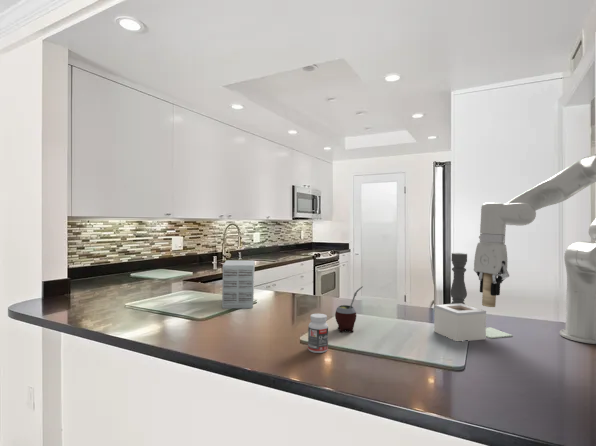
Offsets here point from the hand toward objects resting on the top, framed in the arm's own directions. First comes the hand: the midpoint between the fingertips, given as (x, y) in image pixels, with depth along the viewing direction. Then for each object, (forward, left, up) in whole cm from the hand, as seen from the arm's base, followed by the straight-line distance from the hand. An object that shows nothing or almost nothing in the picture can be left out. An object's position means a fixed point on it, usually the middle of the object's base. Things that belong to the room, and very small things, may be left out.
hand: (489, 293), depth 123 cm
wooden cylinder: (0, 0, -4) cm, 4 cm away
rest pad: (-1, 0, -13) cm, 14 cm away
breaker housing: (+11, -1, -13) cm, 18 cm away
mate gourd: (+45, -15, -14) cm, 50 cm away
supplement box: (+75, -62, -14) cm, 98 cm away
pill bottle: (+61, 0, -14) cm, 63 cm away
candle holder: (-5, -20, -14) cm, 25 cm away
